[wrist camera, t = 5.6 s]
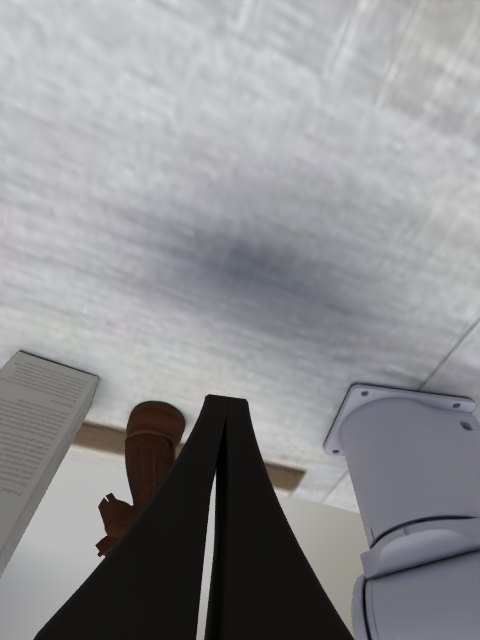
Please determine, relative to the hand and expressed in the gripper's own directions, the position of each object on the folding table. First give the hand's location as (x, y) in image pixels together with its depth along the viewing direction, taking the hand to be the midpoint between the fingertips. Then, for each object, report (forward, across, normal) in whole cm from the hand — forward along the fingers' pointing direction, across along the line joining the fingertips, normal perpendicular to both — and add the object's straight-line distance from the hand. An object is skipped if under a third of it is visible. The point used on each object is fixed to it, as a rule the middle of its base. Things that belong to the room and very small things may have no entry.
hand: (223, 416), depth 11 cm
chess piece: (+11, +4, +14) cm, 18 cm away
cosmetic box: (+11, +12, +11) cm, 20 cm away
